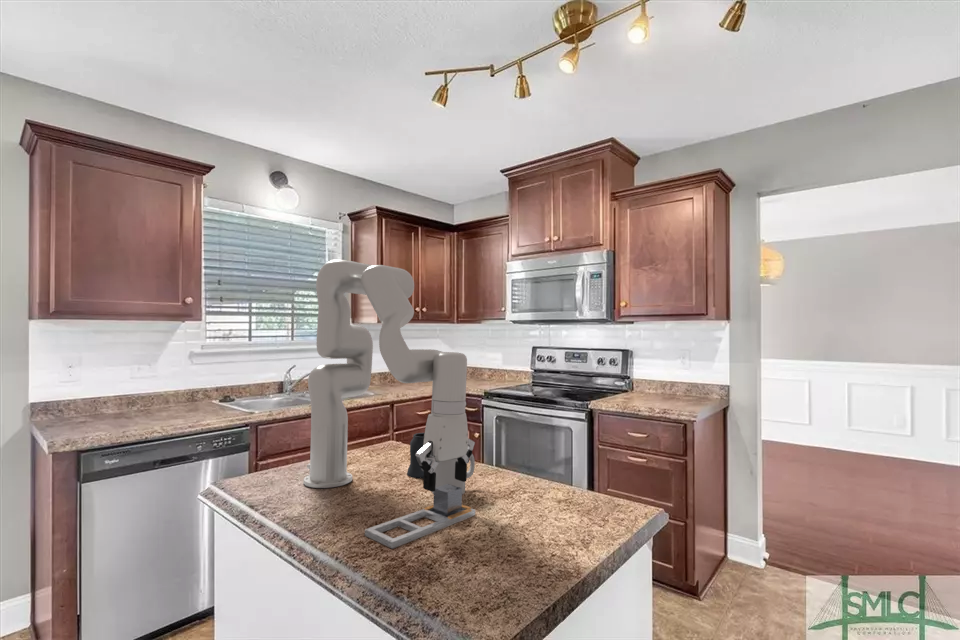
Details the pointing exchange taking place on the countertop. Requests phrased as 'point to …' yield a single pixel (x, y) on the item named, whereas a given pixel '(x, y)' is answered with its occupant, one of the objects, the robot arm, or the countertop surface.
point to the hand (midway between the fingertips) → (445, 485)
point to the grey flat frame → (415, 526)
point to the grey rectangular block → (447, 500)
